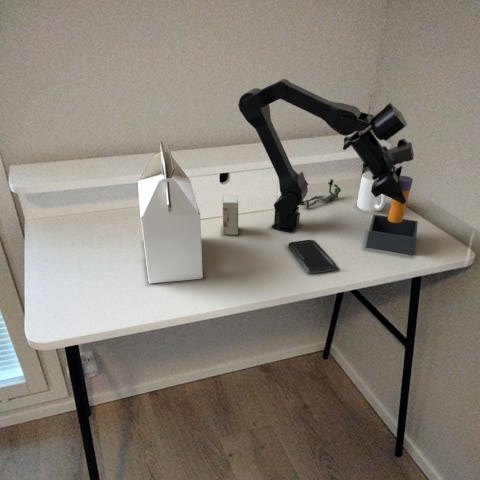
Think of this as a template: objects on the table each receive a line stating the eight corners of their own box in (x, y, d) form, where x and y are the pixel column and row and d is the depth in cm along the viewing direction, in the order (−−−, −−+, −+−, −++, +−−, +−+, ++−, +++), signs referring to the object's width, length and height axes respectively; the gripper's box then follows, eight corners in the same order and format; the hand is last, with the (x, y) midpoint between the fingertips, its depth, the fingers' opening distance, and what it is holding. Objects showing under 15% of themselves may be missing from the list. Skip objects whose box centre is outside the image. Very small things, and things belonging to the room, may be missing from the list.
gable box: (203, 279, 115) (198, 167, 98) (148, 284, 113) (134, 170, 95) (192, 237, 132) (187, 135, 115) (145, 241, 130) (132, 138, 113)
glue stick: (386, 221, 125) (395, 179, 118) (389, 215, 128) (399, 174, 121) (400, 224, 124) (411, 182, 117) (403, 218, 127) (414, 177, 120)
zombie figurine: (300, 183, 147) (337, 176, 154) (298, 204, 151) (334, 196, 158) (311, 189, 144) (348, 181, 150) (308, 210, 148) (345, 201, 154)
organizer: (365, 249, 128) (369, 231, 125) (369, 231, 137) (373, 214, 133) (411, 257, 125) (416, 238, 122) (412, 238, 134) (417, 220, 130)
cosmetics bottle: (223, 226, 137) (223, 194, 131) (238, 227, 137) (238, 194, 131) (222, 235, 133) (222, 201, 127) (237, 235, 133) (238, 202, 127)
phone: (313, 239, 130) (337, 266, 119) (312, 242, 131) (336, 269, 119) (286, 242, 128) (308, 270, 117) (286, 246, 129) (308, 274, 117)
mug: (392, 217, 145) (400, 185, 138) (368, 219, 143) (374, 187, 137) (375, 201, 154) (382, 170, 148) (352, 203, 152) (357, 172, 146)
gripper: (395, 142, 106) (433, 195, 110) (401, 121, 120) (434, 169, 124) (355, 171, 113) (391, 220, 117) (365, 148, 127) (397, 193, 131)
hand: (405, 199), depth 122 cm, fingers closed on glue stick, 4 cm apart
